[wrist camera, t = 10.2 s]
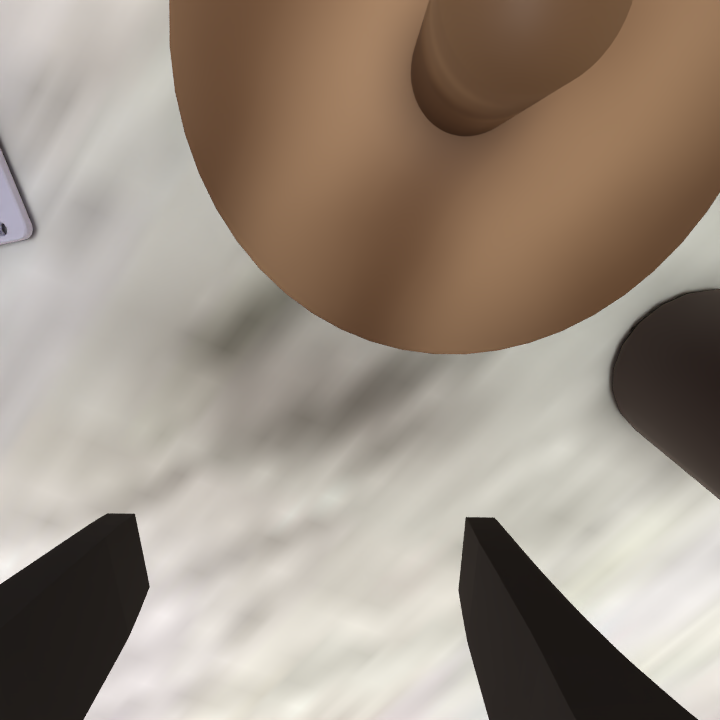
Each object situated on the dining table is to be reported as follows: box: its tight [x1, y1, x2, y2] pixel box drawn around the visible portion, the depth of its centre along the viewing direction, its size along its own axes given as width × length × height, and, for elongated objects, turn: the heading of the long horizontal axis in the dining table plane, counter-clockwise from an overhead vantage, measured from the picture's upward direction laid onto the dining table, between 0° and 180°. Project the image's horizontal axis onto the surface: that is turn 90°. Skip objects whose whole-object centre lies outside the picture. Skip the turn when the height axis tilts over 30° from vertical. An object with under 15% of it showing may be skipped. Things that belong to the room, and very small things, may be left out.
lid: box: [169, 0, 720, 354], centre depth 9 cm, size 15×15×5 cm
